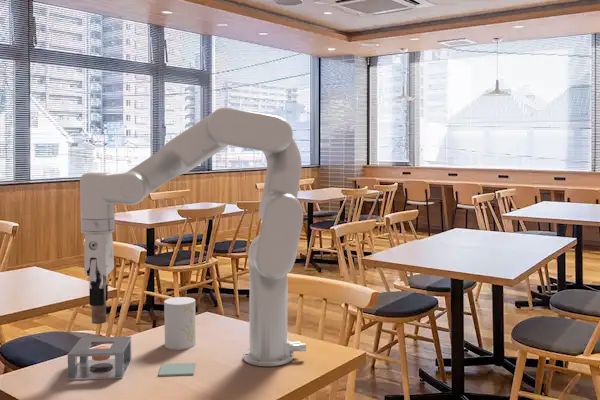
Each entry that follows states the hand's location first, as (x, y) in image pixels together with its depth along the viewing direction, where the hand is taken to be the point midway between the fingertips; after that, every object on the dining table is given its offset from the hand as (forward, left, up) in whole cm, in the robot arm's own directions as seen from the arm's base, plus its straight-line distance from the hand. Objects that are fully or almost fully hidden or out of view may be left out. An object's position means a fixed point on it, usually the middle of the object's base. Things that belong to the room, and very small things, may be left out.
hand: (98, 302), depth 140 cm
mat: (-18, +2, -16) cm, 24 cm away
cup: (-17, -17, -17) cm, 29 cm away
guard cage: (0, 0, -16) cm, 16 cm away
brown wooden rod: (0, 0, -5) cm, 5 cm away
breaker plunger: (0, 0, -13) cm, 13 cm away
